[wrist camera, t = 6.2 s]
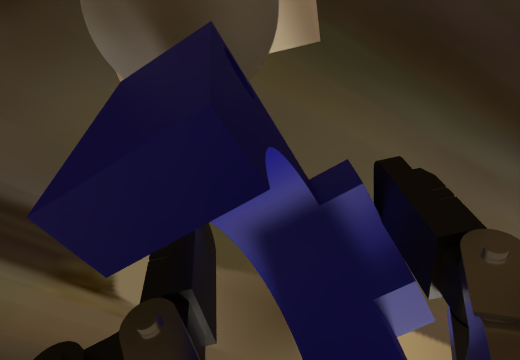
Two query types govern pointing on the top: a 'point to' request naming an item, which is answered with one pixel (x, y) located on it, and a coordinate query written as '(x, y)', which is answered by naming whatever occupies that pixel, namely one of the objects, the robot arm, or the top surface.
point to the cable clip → (233, 202)
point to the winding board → (190, 20)
